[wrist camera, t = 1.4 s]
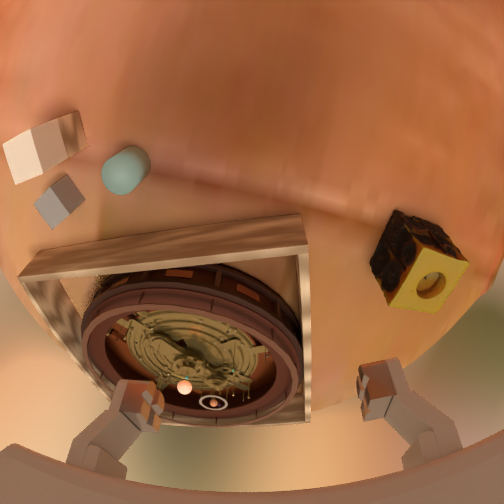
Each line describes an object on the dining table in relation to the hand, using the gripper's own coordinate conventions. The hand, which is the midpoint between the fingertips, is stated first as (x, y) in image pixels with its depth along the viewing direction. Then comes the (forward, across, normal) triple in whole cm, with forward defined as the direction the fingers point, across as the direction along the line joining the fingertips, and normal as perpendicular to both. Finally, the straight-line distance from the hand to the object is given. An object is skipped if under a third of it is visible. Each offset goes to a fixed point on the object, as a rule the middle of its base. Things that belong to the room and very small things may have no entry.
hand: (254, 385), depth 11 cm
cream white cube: (+26, +25, -10) cm, 37 cm away
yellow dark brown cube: (+32, -21, +16) cm, 41 cm away
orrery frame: (+32, +19, +32) cm, 49 cm away
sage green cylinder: (+31, +16, -3) cm, 35 cm away
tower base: (+31, +25, -10) cm, 41 cm away
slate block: (+32, +29, -1) cm, 43 cm away
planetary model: (+33, +18, +32) cm, 50 cm away
